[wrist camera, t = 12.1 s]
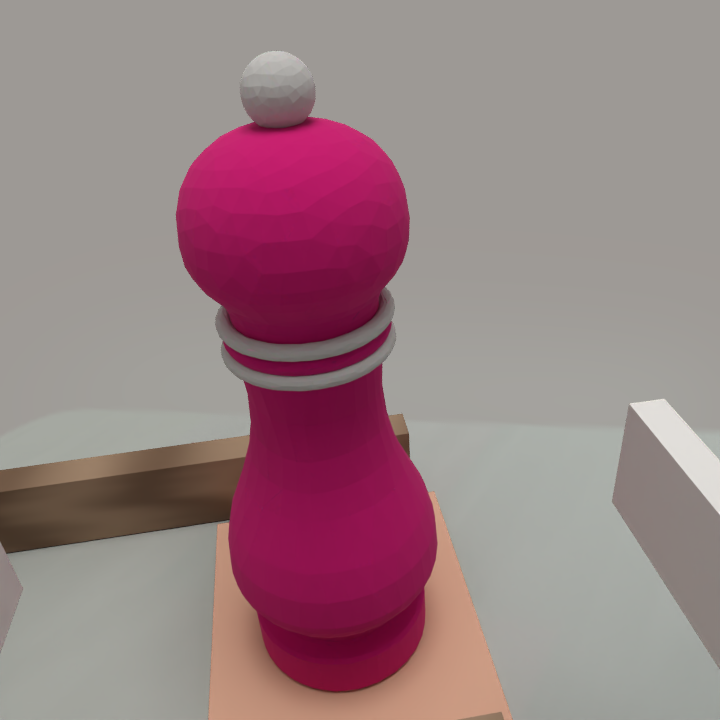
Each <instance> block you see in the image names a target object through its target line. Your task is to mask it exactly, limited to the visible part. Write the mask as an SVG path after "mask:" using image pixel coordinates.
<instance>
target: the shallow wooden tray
mask: <svg viewBox="0 0 720 720" xmlns="http://www.w3.org/2000/svg"><path fill="white" fill-rule="evenodd" d="M388 417H389V419H390V422H391V425H392V428H393V431H394V433H395V436H396V437H397V439H398V441H399V443H400V444H401V446H402V447H403V449H404V450H405V452H406V453H407V455H408V457H409V458H410V451H409V432H408V429H407V426H406V423H405V420H404V417H403V414H397V415H390V416H388ZM249 439H250V435H248V436H241V437H233V438H226V439H219V440H212V441H205V442H198V443H191V444H184V445H177V446H170V447H162V448H155V449H148V450H141V451H134V452H127V453H120V454H113V455H106V456H98V457H91V458H84V459H77V460H70V461H63V462H56V463H49V464H42V465H35V466H27V467H20V468H13V469H6V470H0V542H1V544H2V546H3V548H4V550H5V552H6V553H10V552H17V551H23V550H30V549H37V548H43V547H50V546H57V545H63V544H70V543H76V542H83V541H90V540H96V539H103V538H110V537H116V536H123V535H129V534H136V533H143V532H149V531H156V530H163V529H169V528H176V527H182V526H189V525H196V524H202V523H209V522H216V521H222V520H229V519H230V514H231V507H232V499H233V496H234V493H235V490H236V487H237V484H238V481H239V478H240V475H241V472H242V469H243V466H244V462H245V457H246V453H247V449H248V445H249ZM458 720H504V718H503V715H502V712H497V713H491V714H486V715H480V716H475V717H469V718H464V719H458Z"/></svg>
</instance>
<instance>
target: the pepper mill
mask: <svg viewBox="0 0 720 720" xmlns="http://www.w3.org/2000/svg"><path fill="white" fill-rule="evenodd" d="M240 94H241V100H242V103H243V106H244V107H245V110H246V112H247V114H248V115H249V116H250V117H251V119H252V120H253V121H254V122H253V123H250V124H247V125H244V126H241V127H238V128H236V129H234V130H232V131H230V132H228V133H226V134H224V135H222V136H220V137H219V138H218V139H217V140H216V141H214V142H213V143H212V144H211V145H210V146H209V147H207V148H206V149H205V150H204V151H203V152H202V153H201V154H200V155H199V156H198V157H197V159H196V160H195V161H194V162H193V163H192V165H191V166H190V168H189V170H188V172H187V175H186V177H185V179H184V181H183V184H182V186H181V188H180V191H179V198H178V205H177V211H176V221H177V232H178V242H179V248H180V251H181V255H182V258H183V262H184V265H185V268H186V269H187V271H188V272H189V274H190V275H191V277H192V279H193V280H194V281H195V282H196V283H197V285H198V286H199V287H200V288H201V289H202V290H203V291H204V292H205V293H206V294H207V295H208V296H209V297H211V298H212V299H214V300H215V301H216V302H218V303H219V304H221V305H222V306H221V307H220V309H219V310H218V313H217V315H216V323H215V325H216V329H217V331H218V334H219V337H220V338H221V339H222V340H223V342H222V346H221V353H222V358H223V360H224V363H225V365H226V366H227V368H228V369H229V370H230V371H231V372H232V373H233V374H234V375H235V376H237V377H238V378H239V379H241V380H243V381H244V383H245V386H246V390H247V393H248V400H249V409H250V418H251V427H250V439H249V445H248V449H247V453H246V457H245V462H244V466H243V469H242V472H241V475H240V478H239V481H238V484H237V487H236V490H235V493H234V496H233V499H232V507H231V514H230V521H229V533H228V541H229V550H230V558H231V565H232V572H233V575H234V578H235V580H236V583H237V585H238V587H239V589H240V591H241V593H242V595H243V596H244V597H245V599H246V600H247V601H248V602H249V604H250V605H251V606H252V607H253V608H254V609H255V610H256V611H257V615H258V619H259V624H260V628H261V632H262V637H263V641H264V644H265V647H266V649H267V651H268V653H269V655H270V657H271V659H272V660H273V661H274V663H275V664H276V665H277V666H278V667H279V668H280V669H281V670H282V671H283V672H284V673H285V674H287V675H288V676H289V677H291V678H292V679H294V680H295V681H297V682H299V683H301V684H304V685H307V686H309V687H312V688H315V689H321V690H328V691H347V690H356V689H361V688H364V687H367V686H369V685H372V684H375V683H377V682H380V681H381V680H383V679H385V678H386V677H388V676H390V675H391V674H393V673H395V672H396V671H397V670H398V669H399V668H400V667H401V666H402V665H404V664H405V663H406V662H407V660H408V659H409V658H410V657H411V655H412V654H413V653H414V651H415V650H416V648H417V646H418V644H419V642H420V640H421V637H422V635H423V630H424V625H425V611H426V610H425V590H424V586H425V585H426V583H427V581H428V579H429V578H430V576H431V573H432V570H433V567H434V564H435V561H436V554H437V545H438V542H437V532H436V522H435V514H434V509H433V504H432V501H431V499H430V496H429V494H428V491H427V489H426V486H425V483H424V481H423V479H422V477H421V475H420V473H419V472H418V470H417V469H416V467H415V466H414V464H413V463H412V461H411V460H410V458H409V457H408V455H407V453H406V452H405V450H404V449H403V447H402V446H401V444H400V443H399V441H398V439H397V437H396V436H395V433H394V431H393V428H392V425H391V422H390V419H389V417H388V414H387V411H386V405H385V399H384V393H383V387H382V363H383V362H384V361H385V360H386V358H387V357H388V356H389V354H390V353H391V351H392V349H393V347H394V344H395V341H396V332H395V326H394V324H393V322H392V321H391V320H392V318H393V315H394V309H395V305H394V299H393V297H392V296H391V293H390V292H389V291H388V290H387V288H385V286H386V285H387V284H388V282H389V281H390V280H391V279H392V278H393V276H394V275H395V274H396V272H397V270H398V269H399V267H400V265H401V264H402V262H403V259H404V256H405V253H406V249H407V245H408V241H409V220H410V217H409V211H408V205H407V199H406V193H405V188H404V186H403V183H402V181H401V178H400V176H399V173H398V172H397V170H396V168H395V166H394V164H393V162H392V161H391V159H390V158H389V157H388V156H387V154H386V153H385V152H384V151H383V150H382V149H381V148H380V147H379V146H378V145H377V144H376V143H375V142H374V141H373V140H372V139H371V138H369V137H367V136H366V135H364V134H362V133H360V132H359V131H357V130H355V129H353V128H351V127H349V126H347V125H345V124H341V123H338V122H334V121H331V120H327V119H322V118H313V117H308V115H309V114H310V113H311V111H312V108H313V106H314V102H315V84H314V80H313V76H312V74H311V72H310V71H309V69H308V68H307V67H306V66H305V65H304V63H303V62H302V61H301V60H300V59H299V58H297V57H295V56H293V55H291V54H289V53H287V52H283V51H270V52H266V53H263V54H260V55H259V56H257V57H256V58H254V59H253V60H252V61H251V62H250V64H249V65H248V66H247V67H246V69H245V71H244V73H243V75H242V79H241V83H240Z"/></svg>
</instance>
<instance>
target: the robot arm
mask: <svg viewBox="0 0 720 720" xmlns="http://www.w3.org/2000/svg"><path fill="white" fill-rule="evenodd" d="M612 502H613V504H614V505H615V507H616V508H617V510H618V512H619V513H620V515H621V516H622V518H623V519H624V521H625V522H626V524H627V526H628V527H629V529H630V530H631V532H632V533H633V535H634V537H635V538H636V540H637V541H638V543H639V544H640V546H641V547H642V549H643V551H644V552H645V554H646V555H647V557H648V558H649V560H650V561H651V563H652V565H653V566H654V568H655V569H656V571H657V572H658V574H659V575H660V577H661V579H662V580H663V582H664V583H665V585H666V586H667V588H668V589H669V591H670V593H671V594H672V596H673V597H674V599H675V600H676V602H677V604H678V605H679V607H680V608H681V610H682V611H683V613H684V614H685V616H686V618H687V619H688V621H689V622H690V624H691V625H692V627H693V628H694V630H695V632H696V633H697V635H698V636H699V638H700V639H701V641H702V642H703V644H704V646H705V647H706V649H707V650H708V652H709V653H710V655H711V656H712V658H713V660H714V661H715V663H716V664H717V666H718V667H719V669H720V460H719V459H718V458H717V457H716V456H715V455H714V454H713V452H712V451H711V450H710V449H709V448H708V447H707V446H706V445H705V444H704V442H703V441H702V440H701V439H700V438H699V437H698V436H697V435H696V434H695V432H694V431H693V430H692V429H691V428H690V427H689V426H688V425H687V424H686V422H685V421H684V420H683V419H682V418H681V417H680V416H679V415H678V414H677V412H676V411H675V410H674V409H673V408H672V407H671V406H670V405H669V404H668V403H667V401H666V400H665V399H660V400H652V401H645V402H638V403H631V404H629V407H628V413H627V419H626V425H625V430H624V436H623V442H622V447H621V453H620V459H619V464H618V470H617V476H616V482H615V487H614V493H613V499H612ZM22 590H23V587H22V585H21V583H20V581H19V579H18V577H17V575H16V573H15V571H14V569H13V567H12V565H11V563H10V561H9V559H8V557H7V555H6V552H5V550H4V548H3V546H2V544H1V542H0V653H1V650H2V647H3V644H4V641H5V638H6V636H7V633H8V630H9V627H10V624H11V621H12V619H13V616H14V613H15V610H16V607H17V605H18V602H19V599H20V596H21V593H22Z"/></svg>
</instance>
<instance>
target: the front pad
mask: <svg viewBox="0 0 720 720" xmlns="http://www.w3.org/2000/svg"><path fill="white" fill-rule="evenodd" d="M428 494H429V496H430V499H431V501H432V504H433V509H434V514H435V522H436V532H437V542H438V545H437V554H436V561H435V564H434V567H433V570H432V573H431V576H430V578H429V579H428V581H427V583H426V585H425V586H424V590H425V610H426V611H425V625H424V630H423V635H422V637H421V640H420V642H419V644H418V646H417V648H416V650H415V651H414V653H413V654H412V655H411V657H410V658H409V659H408V660H407V662H406V663H405V664H404V665H402V666H401V667H400V668H399V669H398V670H397V671H396V672H395V673H393V674H391V675H390V676H388V677H386V678H385V679H383V680H381V681H380V682H377V683H375V684H372V685H369V686H367V687H364V688H361V689H356V690H347V691H328V690H321V689H315V688H312V687H309V686H307V685H304V684H301V683H299V682H297V681H295V680H294V679H292V678H291V677H289V676H288V675H287V674H285V673H284V672H283V671H282V670H281V669H280V668H279V667H278V666H277V665H276V664H275V663H274V661H273V660H272V659H271V657H270V655H269V653H268V651H267V649H266V647H265V644H264V641H263V637H262V632H261V628H260V624H259V619H258V615H257V611H256V610H255V609H254V608H253V607H252V606H251V605H250V604H249V602H248V601H247V600H246V599H245V597H244V596H243V595H242V593H241V591H240V589H239V587H238V585H237V583H236V580H235V578H234V575H233V572H232V565H231V558H230V550H229V541H228V533H229V522H228V523H222V524H218V525H217V546H216V568H215V589H214V610H213V632H212V653H211V674H210V696H209V717H208V720H458V719H464V718H469V717H475V716H480V715H486V714H491V713H497V712H502V715H503V718H504V720H513V719H512V716H511V713H510V710H509V708H508V705H507V702H506V699H505V696H504V693H503V690H502V687H501V684H500V681H499V678H498V676H497V673H496V670H495V667H494V664H493V661H492V658H491V655H490V652H489V649H488V646H487V644H486V641H485V638H484V635H483V632H482V629H481V626H480V623H479V620H478V617H477V614H476V612H475V609H474V606H473V603H472V600H471V597H470V594H469V591H468V588H467V585H466V582H465V580H464V577H463V574H462V571H461V568H460V565H459V562H458V559H457V556H456V553H455V550H454V548H453V545H452V542H451V539H450V536H449V533H448V530H447V527H446V524H445V521H444V518H443V516H442V513H441V510H440V507H439V504H438V501H437V498H436V495H435V492H434V491H433V492H428Z"/></svg>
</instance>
